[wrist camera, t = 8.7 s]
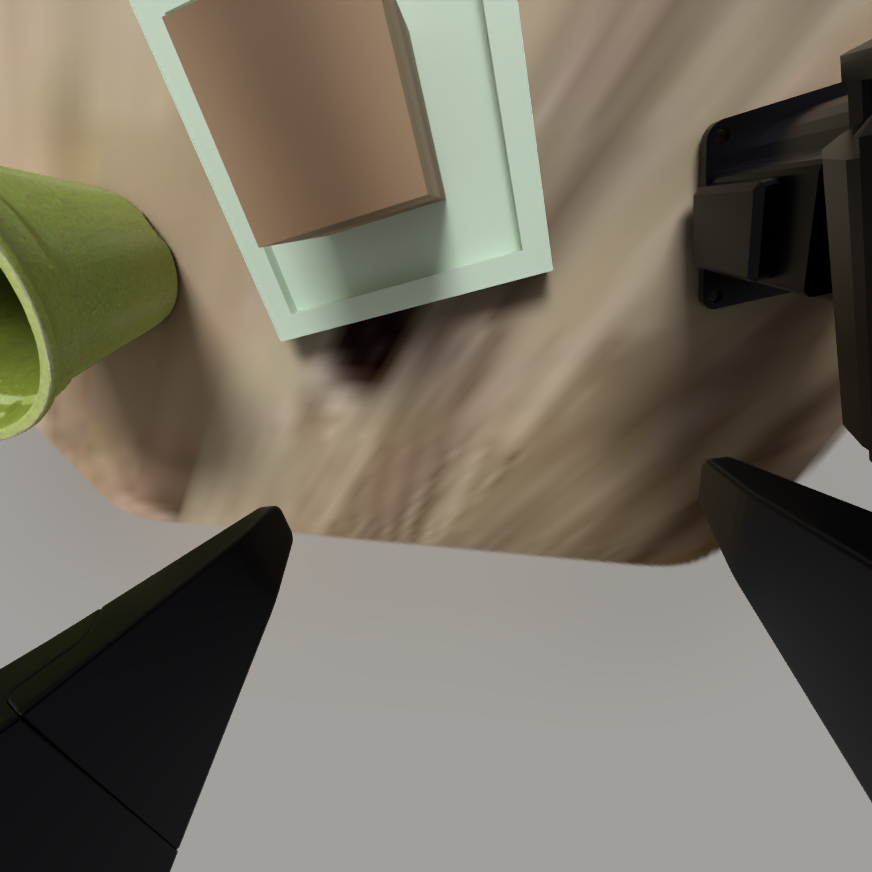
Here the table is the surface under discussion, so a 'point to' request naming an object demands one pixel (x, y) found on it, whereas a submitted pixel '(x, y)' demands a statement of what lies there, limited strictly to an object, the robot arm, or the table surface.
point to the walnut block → (311, 110)
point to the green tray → (422, 227)
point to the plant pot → (70, 287)
